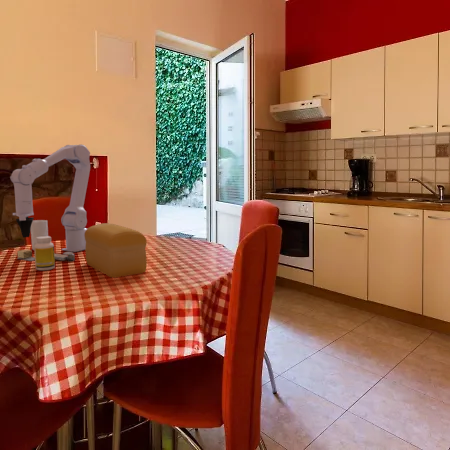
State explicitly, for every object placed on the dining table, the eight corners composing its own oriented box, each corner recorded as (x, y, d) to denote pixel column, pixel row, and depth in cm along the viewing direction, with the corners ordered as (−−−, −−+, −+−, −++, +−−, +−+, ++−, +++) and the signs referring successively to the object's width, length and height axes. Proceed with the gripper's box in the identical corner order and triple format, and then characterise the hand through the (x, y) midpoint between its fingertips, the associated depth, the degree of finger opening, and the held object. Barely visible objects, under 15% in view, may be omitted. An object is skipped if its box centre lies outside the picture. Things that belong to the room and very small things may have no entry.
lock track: (26, 256, 155) (26, 256, 155) (40, 259, 151) (40, 258, 151) (17, 258, 151) (17, 257, 151) (31, 261, 147) (31, 260, 147)
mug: (45, 250, 167) (43, 222, 165) (28, 250, 166) (27, 222, 165) (54, 245, 177) (52, 219, 175) (38, 245, 176) (37, 219, 174)
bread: (84, 263, 145) (83, 223, 143) (118, 259, 153) (117, 220, 151) (111, 278, 126) (109, 232, 124) (147, 272, 134) (147, 228, 132)
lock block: (26, 255, 154) (25, 249, 154) (32, 256, 153) (31, 250, 152) (17, 257, 151) (17, 250, 151) (23, 258, 150) (23, 251, 149)
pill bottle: (58, 268, 137) (56, 237, 136) (39, 271, 133) (37, 239, 131) (50, 265, 142) (49, 235, 140) (32, 268, 137) (30, 237, 136)
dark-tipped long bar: (46, 254, 159) (45, 248, 158) (78, 260, 150) (78, 253, 150) (38, 256, 156) (38, 250, 155) (71, 261, 147) (70, 255, 147)
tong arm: (40, 255, 156) (40, 247, 156) (73, 259, 149) (73, 252, 149) (34, 256, 154) (34, 249, 153) (67, 261, 146) (66, 253, 146)
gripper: (14, 200, 154) (17, 234, 156) (8, 203, 140) (11, 240, 142) (34, 199, 156) (36, 233, 158) (30, 202, 143) (33, 239, 144)
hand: (26, 237), depth 150 cm, fingers closed
